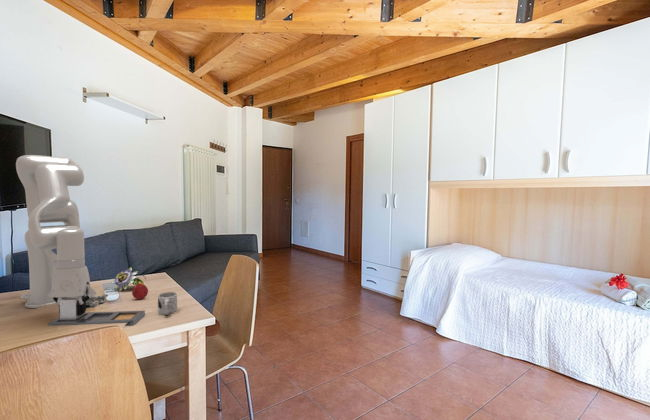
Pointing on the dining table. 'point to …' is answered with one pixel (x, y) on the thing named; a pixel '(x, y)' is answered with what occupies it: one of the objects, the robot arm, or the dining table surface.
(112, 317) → the rail
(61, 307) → the block
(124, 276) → the passion flower
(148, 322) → the dining table surface
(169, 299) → the mug
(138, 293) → the onion
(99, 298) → the egg carton
